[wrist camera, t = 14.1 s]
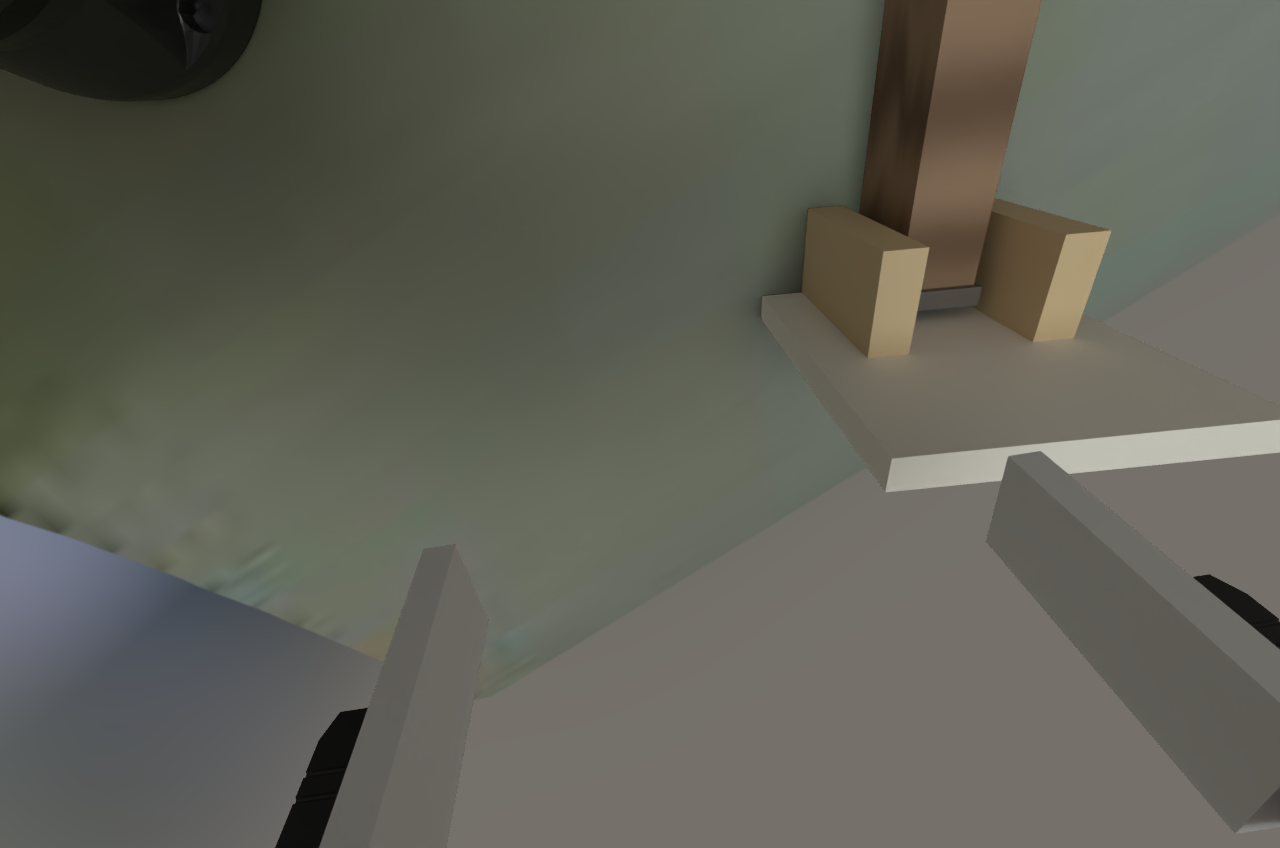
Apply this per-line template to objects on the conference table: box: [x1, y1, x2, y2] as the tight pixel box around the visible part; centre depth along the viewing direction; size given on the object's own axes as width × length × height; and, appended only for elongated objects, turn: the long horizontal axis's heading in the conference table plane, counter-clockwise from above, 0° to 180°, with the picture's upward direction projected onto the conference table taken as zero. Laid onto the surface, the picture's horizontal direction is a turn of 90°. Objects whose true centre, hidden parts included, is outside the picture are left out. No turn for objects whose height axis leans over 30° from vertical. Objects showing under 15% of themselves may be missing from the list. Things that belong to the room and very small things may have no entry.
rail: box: [859, 0, 1042, 311], centre depth 28 cm, size 18×4×6 cm, turn 4°
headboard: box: [761, 198, 1280, 492], centre depth 27 cm, size 6×15×18 cm, turn 94°
